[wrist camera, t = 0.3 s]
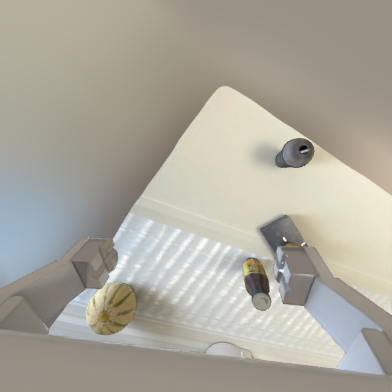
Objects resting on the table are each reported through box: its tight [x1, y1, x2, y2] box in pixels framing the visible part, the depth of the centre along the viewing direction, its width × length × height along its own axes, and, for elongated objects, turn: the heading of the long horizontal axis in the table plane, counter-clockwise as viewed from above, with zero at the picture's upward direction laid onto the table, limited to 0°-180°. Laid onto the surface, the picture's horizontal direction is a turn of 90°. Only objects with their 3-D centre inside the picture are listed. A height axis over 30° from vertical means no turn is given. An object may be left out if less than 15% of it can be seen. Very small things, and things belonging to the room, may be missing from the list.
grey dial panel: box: [260, 215, 308, 256], centre depth 57 cm, size 14×9×3 cm, turn 32°
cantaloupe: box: [86, 282, 137, 335], centre depth 60 cm, size 15×15×15 cm
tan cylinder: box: [285, 243, 299, 247], centre depth 54 cm, size 4×4×4 cm
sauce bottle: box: [243, 258, 271, 311], centre depth 51 cm, size 7×6×20 cm
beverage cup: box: [275, 138, 314, 168], centre depth 48 cm, size 7×7×20 cm
